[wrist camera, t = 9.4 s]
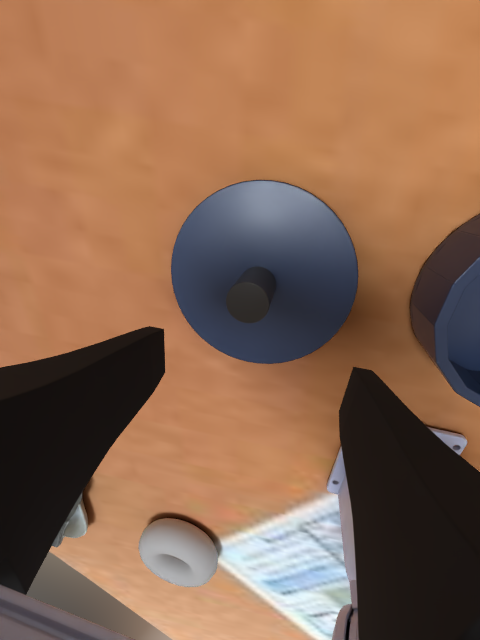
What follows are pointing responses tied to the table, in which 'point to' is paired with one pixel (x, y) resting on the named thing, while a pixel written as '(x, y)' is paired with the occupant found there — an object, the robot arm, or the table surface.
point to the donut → (178, 552)
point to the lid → (264, 271)
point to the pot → (452, 309)
